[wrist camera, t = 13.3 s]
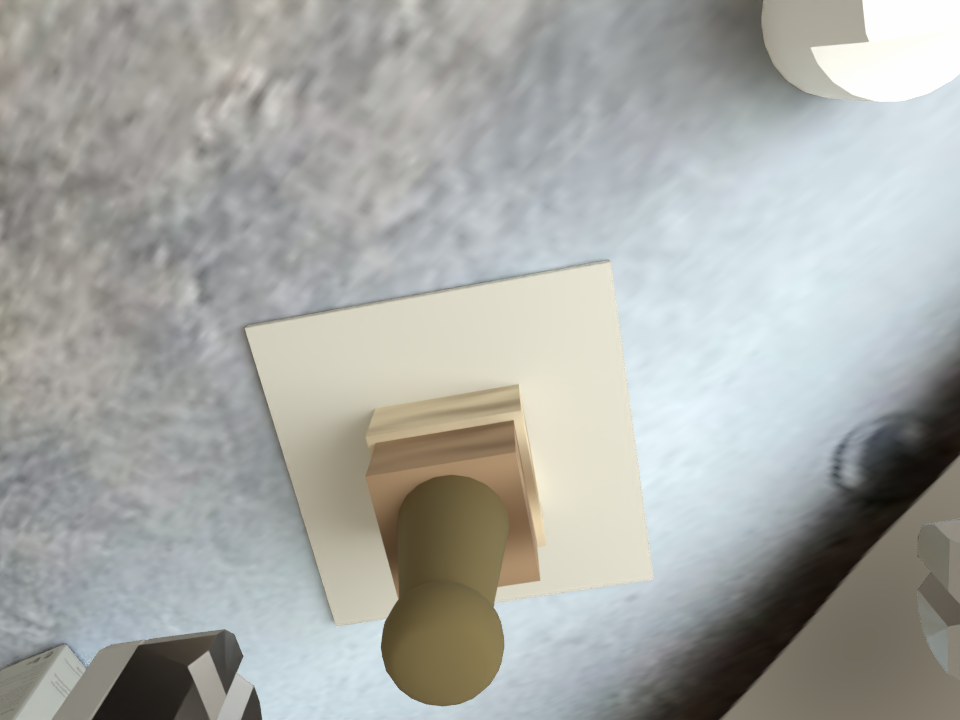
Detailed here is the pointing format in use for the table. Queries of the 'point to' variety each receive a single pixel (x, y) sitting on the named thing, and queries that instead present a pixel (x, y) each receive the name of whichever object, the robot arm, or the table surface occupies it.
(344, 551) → the felt mat
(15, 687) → the skincare box
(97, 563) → the table surface
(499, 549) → the olive rounded upright piece
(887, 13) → the cylinder with rectangular tab
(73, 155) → the table surface
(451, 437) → the top block
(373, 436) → the bottom block
